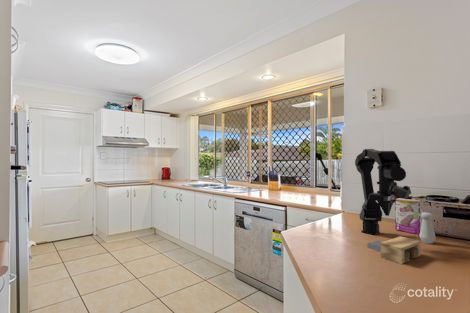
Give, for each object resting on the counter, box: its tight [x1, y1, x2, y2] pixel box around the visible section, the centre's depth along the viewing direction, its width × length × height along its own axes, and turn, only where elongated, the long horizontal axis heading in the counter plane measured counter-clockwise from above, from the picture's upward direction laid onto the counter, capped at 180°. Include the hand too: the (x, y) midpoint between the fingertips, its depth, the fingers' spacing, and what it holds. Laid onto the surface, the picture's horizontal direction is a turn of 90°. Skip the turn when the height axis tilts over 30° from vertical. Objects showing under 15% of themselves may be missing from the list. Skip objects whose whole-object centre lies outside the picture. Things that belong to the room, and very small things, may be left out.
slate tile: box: [366, 240, 411, 258], centre depth 97 cm, size 14×7×2 cm, turn 24°
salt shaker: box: [418, 211, 437, 245], centre depth 109 cm, size 6×6×13 cm
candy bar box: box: [394, 197, 424, 236], centre depth 125 cm, size 11×5×16 cm, turn 34°
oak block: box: [380, 235, 421, 265], centre depth 92 cm, size 7×15×6 cm, turn 122°
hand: (387, 215), depth 106 cm, fingers closed
